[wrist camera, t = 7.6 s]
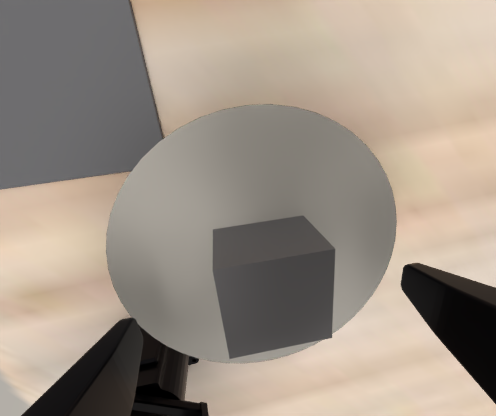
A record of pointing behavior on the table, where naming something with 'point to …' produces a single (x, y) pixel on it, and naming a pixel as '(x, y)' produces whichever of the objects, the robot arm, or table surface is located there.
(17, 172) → the charcoal mat
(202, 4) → the table surface
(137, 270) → the lid
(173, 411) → the robot arm
